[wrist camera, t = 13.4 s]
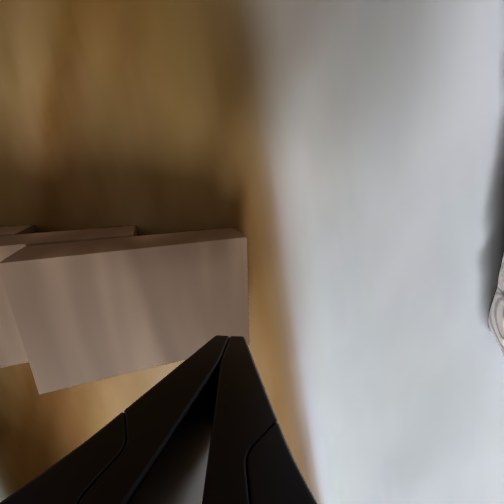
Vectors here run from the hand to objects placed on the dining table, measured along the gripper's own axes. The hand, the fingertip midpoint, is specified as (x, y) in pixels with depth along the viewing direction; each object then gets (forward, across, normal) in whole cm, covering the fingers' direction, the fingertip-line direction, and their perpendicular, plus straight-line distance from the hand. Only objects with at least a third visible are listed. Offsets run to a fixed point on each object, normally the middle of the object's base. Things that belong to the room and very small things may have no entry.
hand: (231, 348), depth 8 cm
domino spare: (+5, 0, 0) cm, 5 cm away
